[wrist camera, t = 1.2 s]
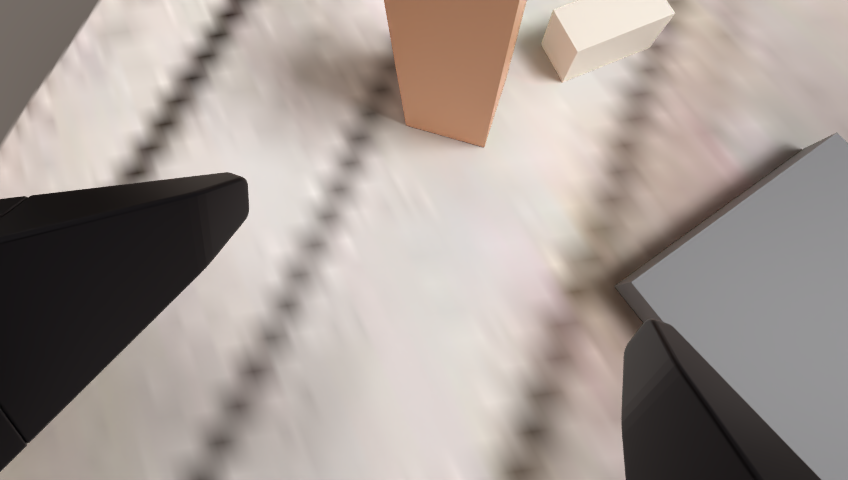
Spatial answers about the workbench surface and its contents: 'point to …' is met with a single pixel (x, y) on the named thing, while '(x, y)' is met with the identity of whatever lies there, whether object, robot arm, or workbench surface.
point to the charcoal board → (770, 300)
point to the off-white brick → (601, 33)
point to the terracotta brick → (453, 62)
